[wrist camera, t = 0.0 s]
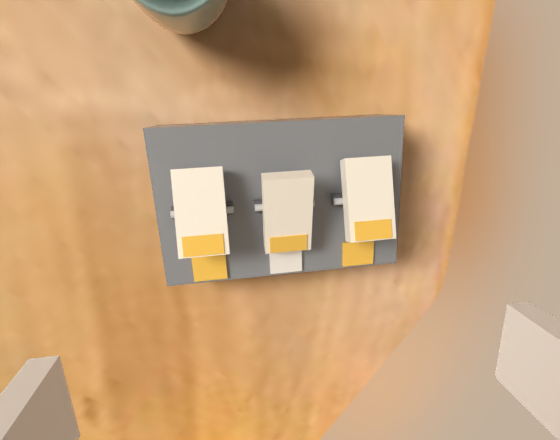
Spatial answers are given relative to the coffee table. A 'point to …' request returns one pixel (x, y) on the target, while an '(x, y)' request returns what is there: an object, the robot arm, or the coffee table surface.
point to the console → (248, 189)
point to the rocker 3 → (368, 198)
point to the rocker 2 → (287, 210)
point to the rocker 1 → (200, 212)
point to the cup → (183, 13)
